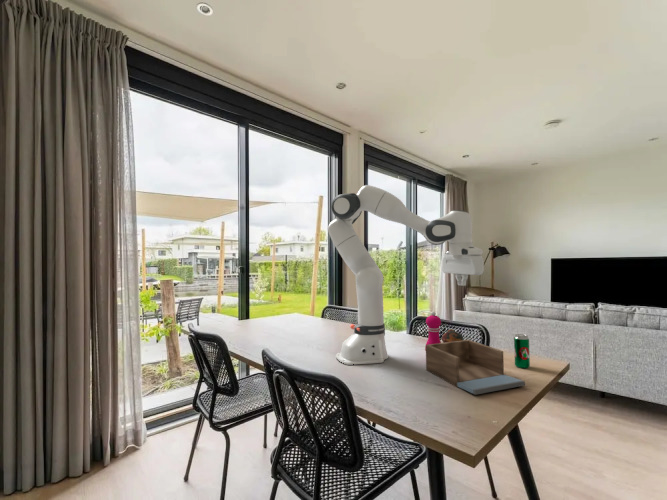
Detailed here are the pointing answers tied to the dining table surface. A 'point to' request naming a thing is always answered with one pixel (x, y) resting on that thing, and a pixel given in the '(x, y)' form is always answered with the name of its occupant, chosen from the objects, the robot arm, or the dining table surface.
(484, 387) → the panel
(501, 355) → the box
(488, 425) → the dining table surface
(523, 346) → the soda can
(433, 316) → the pepper mill
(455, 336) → the decorative turtle
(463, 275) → the robot arm
